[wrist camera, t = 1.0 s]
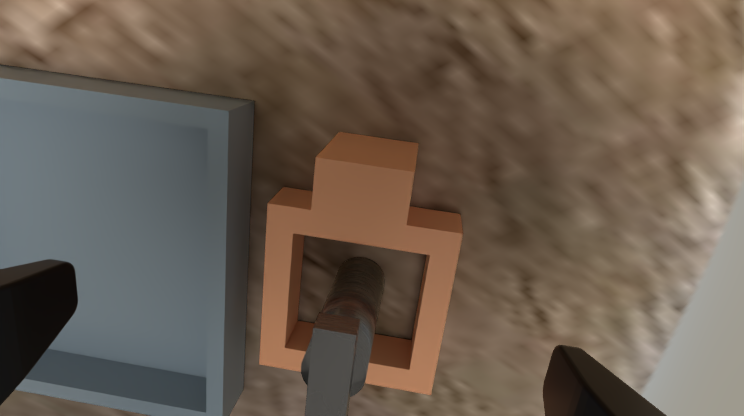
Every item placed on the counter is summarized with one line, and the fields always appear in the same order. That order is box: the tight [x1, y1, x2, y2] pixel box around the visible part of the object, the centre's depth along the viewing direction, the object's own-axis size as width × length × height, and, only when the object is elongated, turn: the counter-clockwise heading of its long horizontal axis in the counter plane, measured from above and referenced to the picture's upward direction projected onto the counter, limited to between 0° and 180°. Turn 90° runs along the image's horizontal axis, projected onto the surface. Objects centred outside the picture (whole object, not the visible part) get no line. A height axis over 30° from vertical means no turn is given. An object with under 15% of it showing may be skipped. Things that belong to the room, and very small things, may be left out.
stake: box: [301, 257, 385, 416], centre depth 18 cm, size 4×2×7 cm, turn 173°
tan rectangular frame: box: [259, 132, 463, 395], centre depth 18 cm, size 10×7×4 cm
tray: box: [0, 65, 254, 416], centre depth 20 cm, size 13×13×2 cm
